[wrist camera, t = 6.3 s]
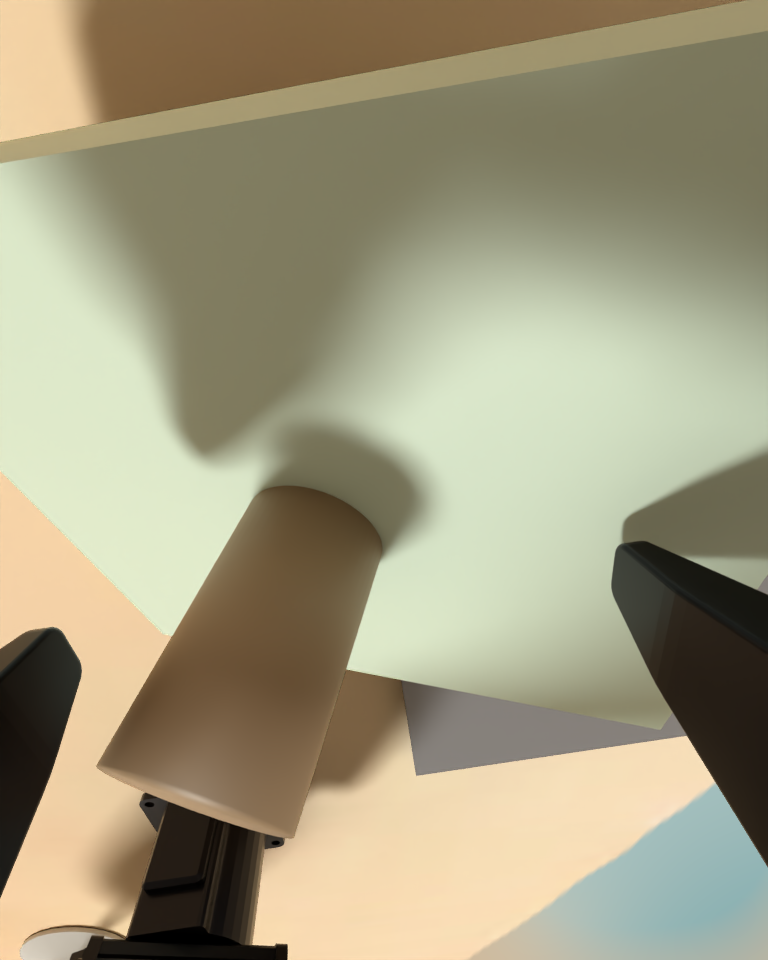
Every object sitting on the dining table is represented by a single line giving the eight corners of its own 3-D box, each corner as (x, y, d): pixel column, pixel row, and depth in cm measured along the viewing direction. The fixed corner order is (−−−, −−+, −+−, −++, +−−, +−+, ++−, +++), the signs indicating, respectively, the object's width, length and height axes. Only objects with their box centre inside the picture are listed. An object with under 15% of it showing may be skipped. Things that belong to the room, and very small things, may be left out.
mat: (720, 711, 26) (732, 728, 25) (413, 757, 26) (416, 775, 25) (797, 471, 19) (819, 482, 18) (378, 531, 19) (380, 546, 18)
